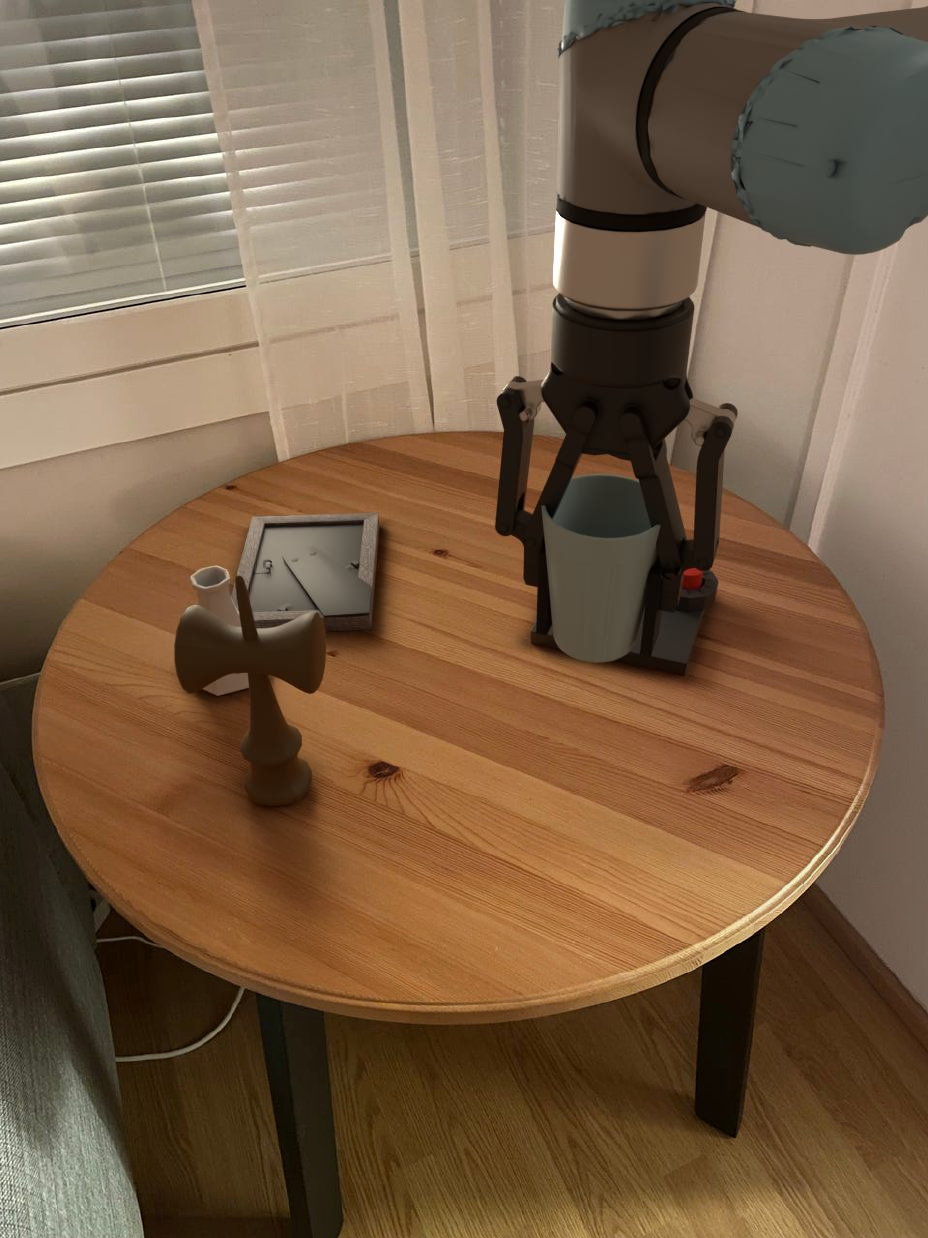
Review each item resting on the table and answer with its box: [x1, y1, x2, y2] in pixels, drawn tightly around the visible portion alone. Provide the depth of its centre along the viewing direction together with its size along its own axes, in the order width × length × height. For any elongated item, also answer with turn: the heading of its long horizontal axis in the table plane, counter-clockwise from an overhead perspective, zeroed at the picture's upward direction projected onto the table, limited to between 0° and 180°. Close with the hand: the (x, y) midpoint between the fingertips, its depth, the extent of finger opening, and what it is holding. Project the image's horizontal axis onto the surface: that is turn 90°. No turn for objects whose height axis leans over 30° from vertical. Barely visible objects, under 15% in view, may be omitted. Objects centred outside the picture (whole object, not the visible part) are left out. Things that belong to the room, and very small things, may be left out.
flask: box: [189, 565, 249, 697], centre depth 86 cm, size 7×7×10 cm
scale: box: [530, 569, 719, 676], centre depth 92 cm, size 15×13×3 cm
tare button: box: [682, 568, 703, 590], centre depth 92 cm, size 3×3×2 cm
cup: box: [542, 473, 660, 663], centre depth 65 cm, size 8×8×10 cm
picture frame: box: [230, 512, 380, 632], centre depth 99 cm, size 13×2×18 cm
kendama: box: [173, 574, 327, 807], centre depth 71 cm, size 6×10×20 cm, turn 86°
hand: (597, 632), depth 67 cm, fingers closed on cup, 6 cm apart
